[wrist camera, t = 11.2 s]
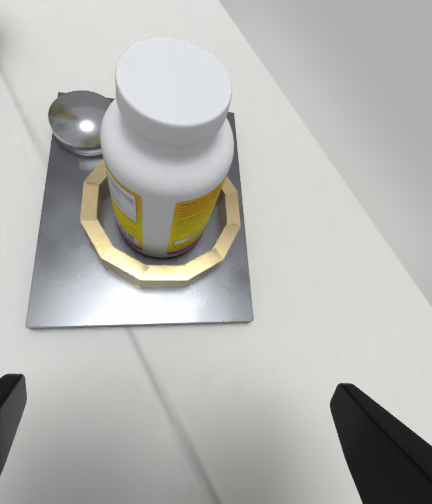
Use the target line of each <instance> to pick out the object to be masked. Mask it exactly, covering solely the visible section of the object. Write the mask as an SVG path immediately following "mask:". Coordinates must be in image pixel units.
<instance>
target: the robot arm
mask: <svg viewBox="0 0 432 504" xmlns="http://www.w3.org/2000/svg"><path fill="white" fill-rule="evenodd" d="M26 400H27V394H26V383H25V376H24V375H23V374H6V375H4V376H2V377H1V378H0V475H1V473H2V470H3V468H4V465H5V463H6V460H7V457H8V454H9V451H10V448H11V446H12V443H13V440H14V437H15V434H16V431H17V428H18V425H19V422H20V420H21V417H22V414H23V411H24V408H25V405H26ZM330 409H331V413H332V417H333V420H334V423H335V427H336V430H337V433H338V437H339V440H340V443H341V447H342V450H343V453H344V456H345V459H346V462H347V465H348V467H349V470H350V473H351V475H352V478H353V480H354V483H355V485H356V488H357V490H358V493H359V495H360V498H361V500H362V503H363V504H432V446H431V445H430V444H428V443H427V442H426V441H425V440H423V439H422V438H421V437H420V436H418V435H417V434H416V433H414V432H413V431H412V430H411V429H409V428H408V427H407V426H406V425H404V424H403V423H402V422H400V421H399V420H398V419H397V418H395V417H394V416H393V415H392V414H390V413H389V412H388V411H387V410H385V409H384V408H383V407H381V406H380V405H379V404H378V403H376V402H375V401H374V400H373V399H371V398H370V397H369V396H367V395H366V394H365V393H364V392H362V391H361V390H360V389H359V388H357V387H356V386H355V385H353V384H350V383H340V384H338V385H337V387H336V390H335V392H334V394H333V397H332V399H331V401H330Z"/></svg>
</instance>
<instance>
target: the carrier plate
mask: <svg viewBox="0 0 432 504" xmlns="http://www.w3.org/2000/svg"><path fill="white" fill-rule="evenodd" d="M113 100H114V99H112V98H105V97H104V96H102V95H100V94H97V93H94V92H90V91H72V92H68V93H61V92H58V98H57V99H56V100H55V101H54V102H53V103H52V105H51V106H50V109H49V113H48V118H49V122H50V125H51V128H52V130H53V134H52V142H51V149H50V156H49V163H48V170H47V177H46V184H45V191H44V198H43V206H42V213H41V220H40V227H39V234H38V241H37V248H36V255H35V263H34V270H33V277H32V284H31V291H30V298H29V305H28V312H27V319H26V328H29V329H50V328H83V327H117V326H150V325H183V324H217V323H249V322H252V321H253V310H252V299H251V289H250V278H249V268H248V257H247V246H246V236H245V225H244V215H243V204H242V193H241V183H240V172H239V162H238V151H237V141H236V130H235V119H234V113H231V112H228V113H227V116H226V118H227V120H228V122H229V124H230V126H231V129H232V133H233V139H234V154H233V159H232V163H231V166H230V168H229V171H228V174H227V176H226V178H225V181H224V183H223V186H222V188H221V191H220V193H219V196H218V198H217V200H216V203H215V205H214V208H213V210H212V213H211V215H210V218H209V220H208V222H207V225H206V227H205V230H204V232H203V234H202V236H201V238H200V239H199V241H198V242H197V243H196V244H195V245H194V246H193V247H192V248H191V249H189V250H188V251H186V252H184V253H182V254H180V255H177V256H173V257H167V258H159V257H152V256H148V255H145V254H143V253H141V252H139V251H137V250H136V249H134V248H133V247H132V246H130V245H129V244H128V243H127V242H126V240H125V239H124V238H123V236H122V235H121V233H120V231H119V228H118V226H117V223H116V219H115V214H114V209H113V204H112V199H111V193H110V189H109V183H108V178H107V173H106V168H105V164H104V159H103V154H102V148H101V142H100V130H101V124H102V120H103V117H104V115H105V112H106V110H107V109H108V107H109V105H110V104H111V103H112V102H113Z"/></svg>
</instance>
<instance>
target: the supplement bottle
mask: <svg viewBox="0 0 432 504" xmlns="http://www.w3.org/2000/svg"><path fill="white" fill-rule="evenodd" d="M115 83H116V98H115V99H114V100H113V102H112V103H111V104H110V105H109V107H108V109H107V110H106V112H105V115H104V117H103V120H102V124H101V130H100V142H101V148H102V154H103V159H104V164H105V168H106V173H107V178H108V183H109V189H110V193H111V199H112V204H113V209H114V214H115V219H116V223H117V226H118V228H119V231H120V233H121V235H122V236H123V238H124V239H125V240H126V242H127V243H128V244H129V245H130V246H132V247H133V248H134V249H136V250H137V251H139V252H141V253H143V254H145V255H148V256H152V257H159V258H167V257H173V256H177V255H180V254H182V253H184V252H186V251H188V250H189V249H191V248H192V247H193V246H194V245H195V244H196V243H197V242H198V241H199V239H200V238H201V236H202V234H203V232H204V230H205V227H206V225H207V222H208V220H209V218H210V215H211V213H212V210H213V208H214V205H215V203H216V200H217V198H218V196H219V193H220V191H221V188H222V186H223V183H224V181H225V178H226V176H227V174H228V171H229V168H230V166H231V163H232V159H233V154H234V139H233V133H232V129H231V126H230V124H229V122H228V120H227V118H226V116H227V113H228V109H229V105H230V102H231V98H232V85H231V81H230V77H229V75H228V73H227V71H226V69H225V67H224V66H223V65H222V63H221V62H220V61H219V60H218V59H217V58H216V57H215V56H214V55H212V54H211V53H210V52H209V51H207V50H206V49H204V48H202V47H200V46H199V45H197V44H195V43H192V42H189V41H186V40H183V39H178V38H170V37H156V38H149V39H145V40H142V41H139V42H137V43H135V44H133V45H132V46H130V47H129V48H128V49H127V50H125V51H124V53H123V54H122V55H121V57H120V58H119V60H118V62H117V66H116V70H115Z"/></svg>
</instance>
